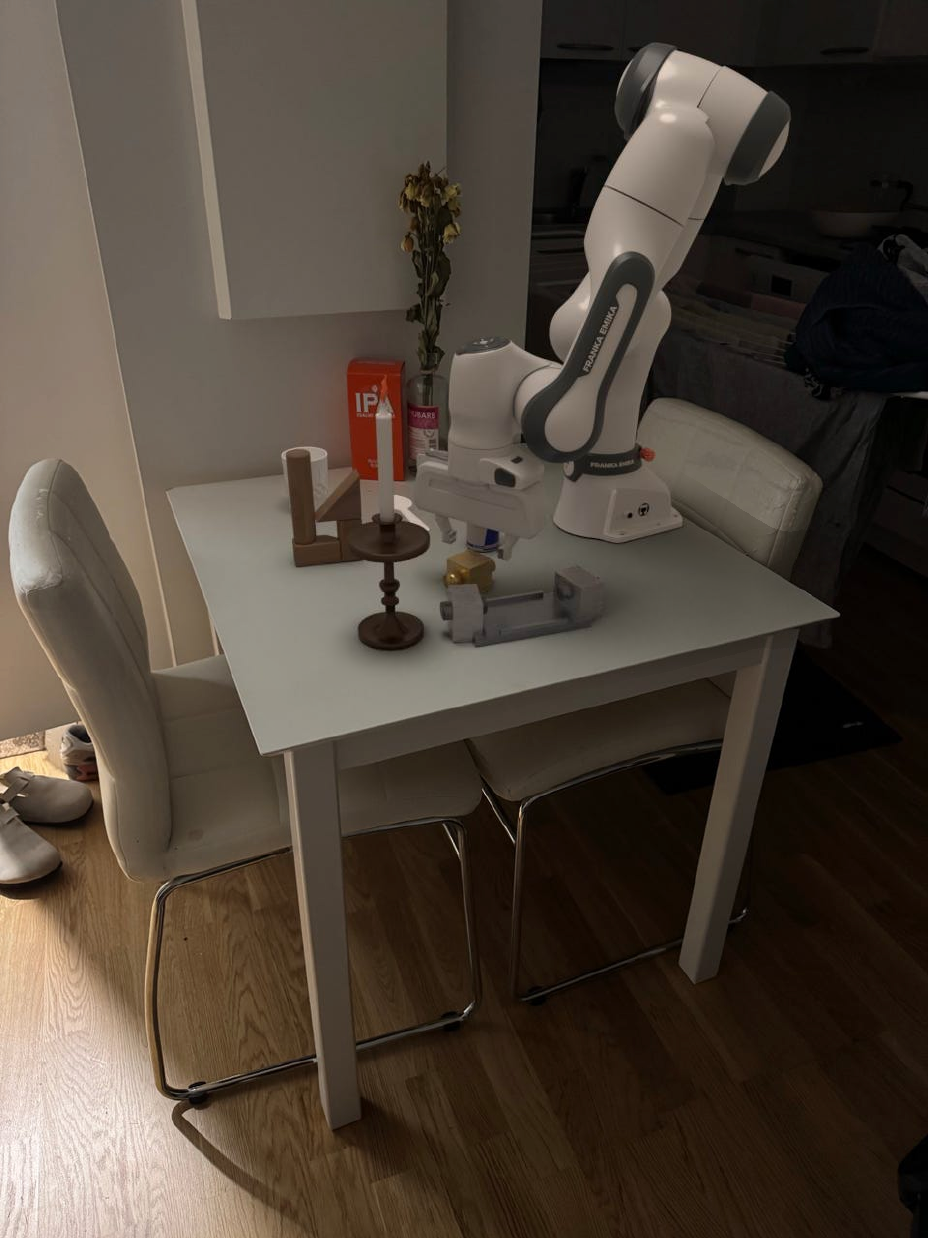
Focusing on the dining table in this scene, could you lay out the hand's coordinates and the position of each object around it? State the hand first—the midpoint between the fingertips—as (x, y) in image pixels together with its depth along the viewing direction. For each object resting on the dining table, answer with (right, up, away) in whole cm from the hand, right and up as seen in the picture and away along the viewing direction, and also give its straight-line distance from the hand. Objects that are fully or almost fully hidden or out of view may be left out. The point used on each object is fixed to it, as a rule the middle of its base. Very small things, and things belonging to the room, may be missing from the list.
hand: (476, 550), depth 128 cm
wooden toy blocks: (-23, -1, +12) cm, 26 cm away
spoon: (-12, +8, +29) cm, 32 cm away
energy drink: (+1, +2, +17) cm, 17 cm away
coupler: (-1, -5, +4) cm, 7 cm away
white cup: (-30, +10, +30) cm, 44 cm away
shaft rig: (+6, -10, -5) cm, 13 cm away
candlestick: (-12, -12, -8) cm, 19 cm away
